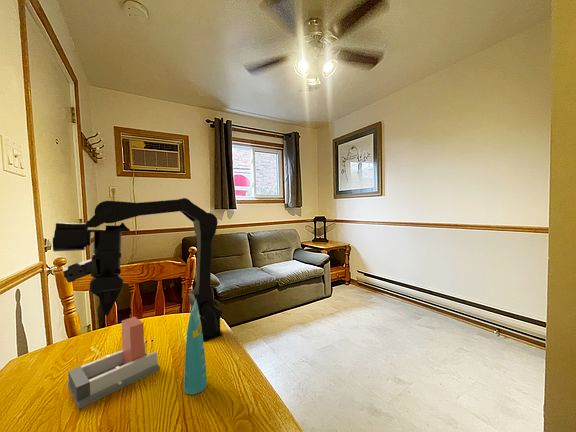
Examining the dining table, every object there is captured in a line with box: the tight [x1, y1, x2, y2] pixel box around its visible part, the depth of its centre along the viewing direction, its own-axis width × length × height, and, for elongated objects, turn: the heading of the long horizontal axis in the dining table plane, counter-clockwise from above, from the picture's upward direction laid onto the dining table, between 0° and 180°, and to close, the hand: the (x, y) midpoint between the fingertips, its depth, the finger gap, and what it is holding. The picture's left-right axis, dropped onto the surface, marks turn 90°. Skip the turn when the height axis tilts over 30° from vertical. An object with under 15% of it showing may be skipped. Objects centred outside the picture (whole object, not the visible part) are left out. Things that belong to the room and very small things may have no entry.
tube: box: [183, 300, 208, 396], centre depth 56 cm, size 7×5×19 cm, turn 20°
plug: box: [121, 316, 145, 364], centre depth 63 cm, size 3×6×11 cm, turn 50°
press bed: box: [67, 341, 160, 410], centre depth 60 cm, size 16×11×4 cm
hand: (105, 309), depth 64 cm, fingers open, 9 cm apart
